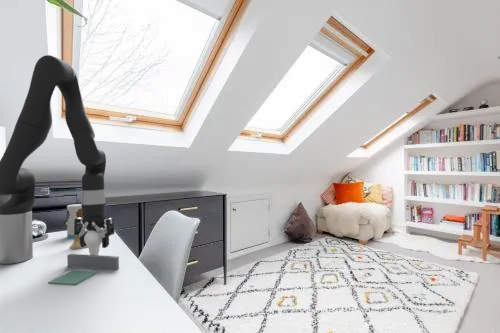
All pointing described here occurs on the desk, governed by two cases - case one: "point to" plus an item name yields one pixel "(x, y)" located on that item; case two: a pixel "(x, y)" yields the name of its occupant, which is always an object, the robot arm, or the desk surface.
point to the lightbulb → (93, 241)
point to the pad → (73, 277)
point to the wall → (93, 261)
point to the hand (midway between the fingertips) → (94, 246)
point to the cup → (72, 219)
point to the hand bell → (77, 239)
